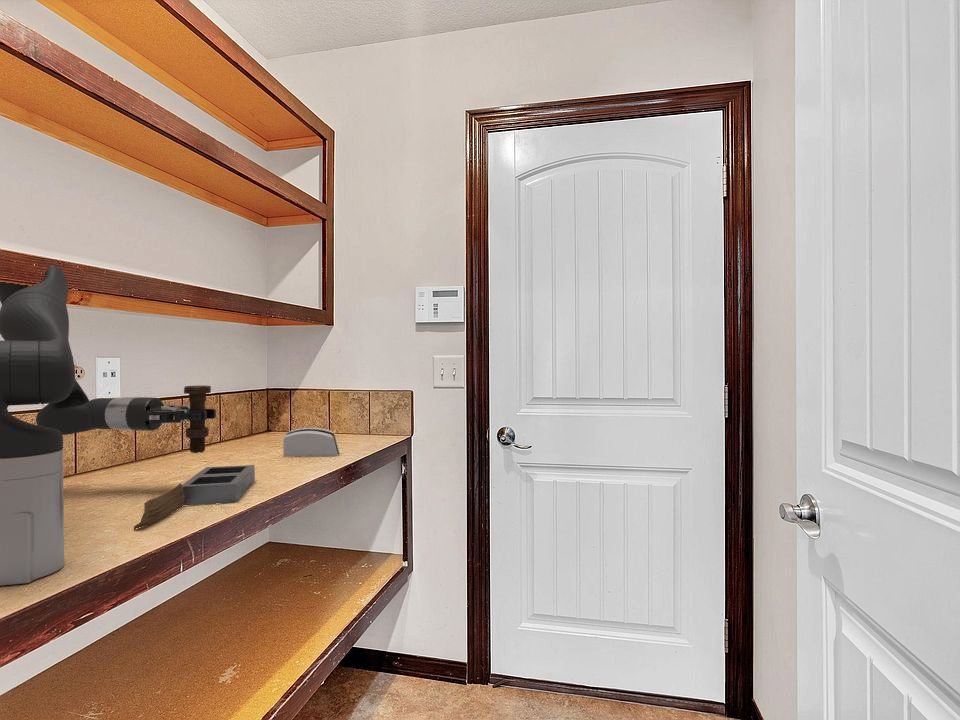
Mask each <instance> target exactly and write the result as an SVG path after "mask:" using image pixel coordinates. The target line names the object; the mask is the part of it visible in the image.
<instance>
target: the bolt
mask: <svg viewBox="0 0 960 720" xmlns="http://www.w3.org/2000/svg"><path fill="white" fill-rule="evenodd" d="M211 391H212V387H211V385H187V386H184V388H183V394H186V395H187V394H188V400H189V401H188V402H189V406H190V410H193V411H206V410H205V409H207V408H206V400H207V394H210V393H211ZM209 430H210V429H209V427H207V426H206V420H205V421H189V427H187V428H186V429H185V437H186V438H188V439H189V445H188V446H189V452H190V453H191V454H192V453H193V454H198V453H204V452H205V451H206V438H207V437H209V434H210V432H209Z"/></svg>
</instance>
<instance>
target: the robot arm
mask: <svg viewBox="0 0 960 720" xmlns="http://www.w3.org/2000/svg"><path fill="white" fill-rule="evenodd" d="M67 281H68V280H67ZM67 281H66V278H65V276H64V274H63V272H62V271H61V270H60V268H58V267H57V266H54V265H51V266H49V268H48V269H47V271H46V272H45V278H44V280H43V282H40V283H38V284H35V285H32V286H28V285H20V284H14V283H6V282H0V304H1V307H0V336H1V337H2V338H3V340H0V586H7V585H8V586H9V585H10V586H11V585H20V584H28V583H31V582H33V581H35V580H37V579H39V578H43V577H46V576H48V575H51V574H54V573H55V572H57V571H59V570H60V569H62V568H63V567H64V565H65V522H64V521H65V519H64V518H65V517H64V515H65V513H64V512H65V510H64V509H65V508H64V504H65V502H64V493H65V492H64V436H67V435H73V434H78V433H79V434H80V433H82V432H83V433H85V432H89V431H92V430H117V431H118V430H119V431H135V432H136V431H137V432H138V431H139V432H140V431H142V432H149V431H150V432H151V431H156V430H158V429H159V428H160V427H161V426H162V425H166V424H179V423H181V422H184V423H187V422H190V421H205V422H206V421H207V419H208V420H209V419H211V420H212V419H215V418H216V417H217V410H216V409H215V408H205V410H206V411H193V410H190V405H177V404H167V405H165V404H164V403H163V401H162V400H161V399H160V398H159V397H147V396H146V397H145V396H144V397H138V396H137V397H136V396H135V397H128V396H127V397H118V398H116V397H114V398H113V397H112V398H111V397H105V398H104V397H99V398H93V399H91V400H90V399H89V397H88V396H87V394H86V393H85V391H84V390H83V388H82V387H81V385H80V384H79V382H78V381H77V380H76V367H75V361H74V357H73V356H74V355H73V353H72V350H71V346H70V342H69V333H70V331H69V330H70V320H69V319H70V318H69V312H68V307H67V302H68V298H69V297H68V296H69V284H68V285H67ZM28 405H29V406H30V405H33V406H34V405H45V406H44V407H42V408H41V409H40V410H39V411H38V412H37V414H36V417H35V423H36V424H33V423H30V422H27V421H24V420H22V419H19V418H18V417H16V416H14V415H12V414H11V413H10V412H9V410H8V407H11V406H28Z"/></svg>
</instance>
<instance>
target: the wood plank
mask: <svg viewBox="0 0 960 720" xmlns="http://www.w3.org/2000/svg"><path fill="white" fill-rule="evenodd" d="M182 484H183V483H182V482H179V484H177V486H175V487H174V488H172V489H171V490H169V491H167V492H166V493H164V494H162V495H158V496H157V497H154V498H151V499H149V500H147V501H146V502H144V503H143V504H144V508H143V509H144V510H143V511H144V512H143V514H142V516H141V519H140V522H139V523H137V524H136V525H134V526H133V531H136V530H137V529H136V528H138V529H140V528H139V527H141V528H143V527H146V526H145V525H147V526H150V525H152V524H154V523H153V522H155V523H156V521H157V522H159V521H161V520H164V519H165V518H164V517H166V516H168V515H169V516H170V515H171V513H172V512H173V513H175V512H177V511H178V510H177V509H179V508H180V509H181V508H183V507H184V506H183V503H184V502H183V498H184V497H185V496H183V487H182ZM182 506H183V507H182ZM180 509H179V510H180ZM176 510H177V511H176ZM174 511H175V512H174ZM173 513H172V514H173ZM169 516H168V517H169ZM166 518H167V517H166ZM160 519H161V520H160ZM158 520H159V521H158ZM151 523H152V524H151ZM149 524H150V525H149ZM142 526H143V527H142ZM135 529H136V530H135Z"/></svg>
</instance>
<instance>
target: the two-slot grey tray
mask: <svg viewBox="0 0 960 720" xmlns="http://www.w3.org/2000/svg"><path fill="white" fill-rule="evenodd" d="M255 472H256V469H255V464H247V465H246V464H245V465H227V466H222V465H221V466H206V467H204V468H203V469H202V470H200V471H199V472H198V473H196V474H195V475H193V476H192V477H191V478H189V479H188V480H187V481H185V482H183V483H181V484H182V487H183V496H185V497H184V498H183V502H184V503H183V505H190V506H198V505H197V504H206V505H217V504H216V503H222V504H235V503H238V501H239V500H240V499H241V498H242V497H241V496H244V494H245V493H246V492H247V491H246V490H248V489H250V487H251V486H252V485H253V484H254V483H255V480H256V477H255V476H256V475H255V474H256V473H255ZM252 483H253V484H252ZM245 491H246V492H245Z"/></svg>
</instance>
